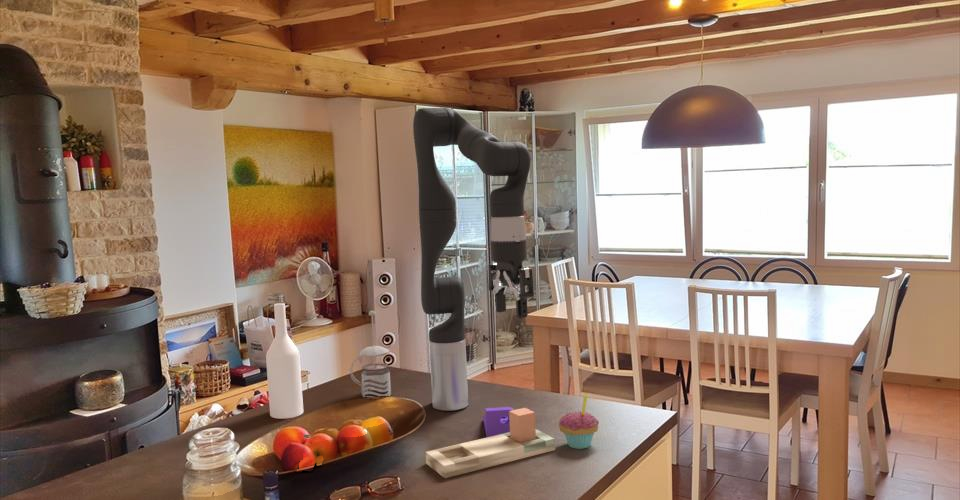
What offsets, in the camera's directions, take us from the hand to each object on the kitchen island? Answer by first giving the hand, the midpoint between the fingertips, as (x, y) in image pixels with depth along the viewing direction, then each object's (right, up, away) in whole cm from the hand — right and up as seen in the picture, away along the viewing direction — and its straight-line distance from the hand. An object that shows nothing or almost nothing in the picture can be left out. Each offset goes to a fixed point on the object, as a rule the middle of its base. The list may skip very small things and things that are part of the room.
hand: (511, 314), depth 146 cm
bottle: (-55, -30, +28) cm, 69 cm away
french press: (-35, -28, +42) cm, 62 cm away
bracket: (-2, -29, +16) cm, 33 cm away
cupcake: (+15, -29, +4) cm, 32 cm away
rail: (-4, -30, -1) cm, 30 cm away
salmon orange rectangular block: (+3, -28, +3) cm, 28 cm away
